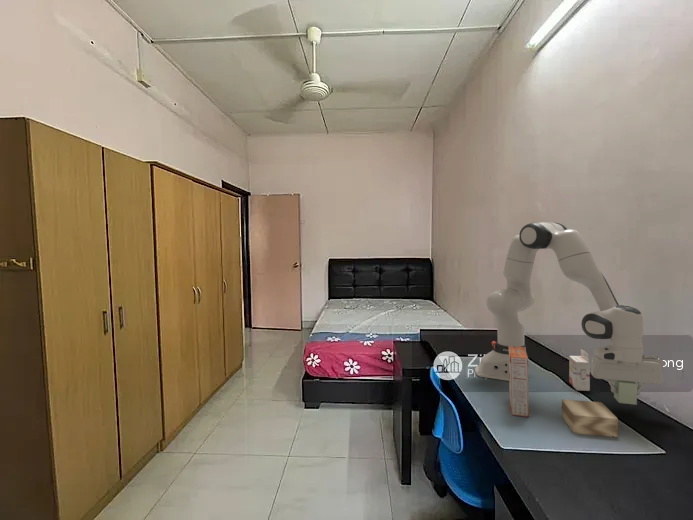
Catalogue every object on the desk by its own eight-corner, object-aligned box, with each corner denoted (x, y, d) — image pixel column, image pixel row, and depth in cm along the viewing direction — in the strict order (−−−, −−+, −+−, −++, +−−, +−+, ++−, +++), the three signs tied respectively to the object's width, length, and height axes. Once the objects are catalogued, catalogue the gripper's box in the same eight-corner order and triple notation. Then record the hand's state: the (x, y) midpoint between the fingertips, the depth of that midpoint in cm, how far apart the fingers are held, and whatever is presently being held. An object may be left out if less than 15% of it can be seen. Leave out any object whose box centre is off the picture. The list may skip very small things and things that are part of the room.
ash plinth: (573, 433, 117) (573, 415, 117) (561, 416, 129) (561, 399, 129) (617, 437, 114) (617, 418, 114) (601, 419, 126) (601, 402, 126)
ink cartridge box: (568, 382, 158) (568, 348, 157) (581, 383, 157) (581, 348, 156) (576, 390, 150) (576, 354, 149) (590, 391, 149) (590, 354, 148)
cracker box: (508, 399, 143) (508, 345, 142) (525, 401, 141) (525, 346, 140) (510, 415, 130) (509, 356, 129) (529, 417, 128) (529, 357, 127)
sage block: (619, 402, 127) (619, 382, 127) (613, 396, 132) (614, 377, 132) (636, 404, 126) (637, 384, 125) (630, 398, 130) (631, 378, 130)
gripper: (659, 353, 127) (657, 393, 128) (589, 348, 134) (588, 386, 135) (668, 359, 121) (666, 400, 122) (594, 353, 128) (593, 393, 129)
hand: (625, 393), depth 129 cm, fingers closed on sage block, 5 cm apart
